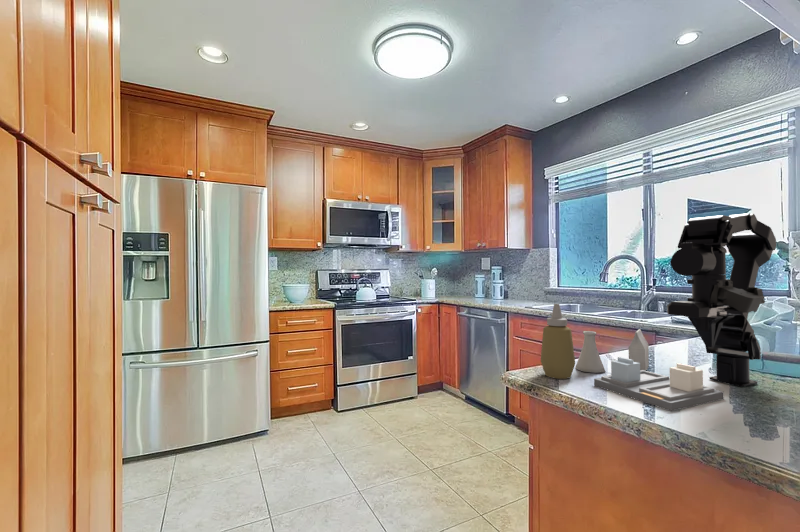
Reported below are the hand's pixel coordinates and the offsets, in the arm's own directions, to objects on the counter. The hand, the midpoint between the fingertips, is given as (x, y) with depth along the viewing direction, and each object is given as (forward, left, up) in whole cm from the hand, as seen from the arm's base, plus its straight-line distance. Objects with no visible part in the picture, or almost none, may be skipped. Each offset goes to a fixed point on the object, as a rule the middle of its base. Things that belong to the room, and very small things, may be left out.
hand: (709, 346), depth 81 cm
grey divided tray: (+11, -4, -10) cm, 15 cm away
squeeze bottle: (+21, -22, -10) cm, 32 cm away
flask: (+9, -23, -10) cm, 27 cm away
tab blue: (+14, -9, -8) cm, 18 cm away
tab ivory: (+8, 0, -8) cm, 11 cm away
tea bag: (-4, -19, -10) cm, 22 cm away
